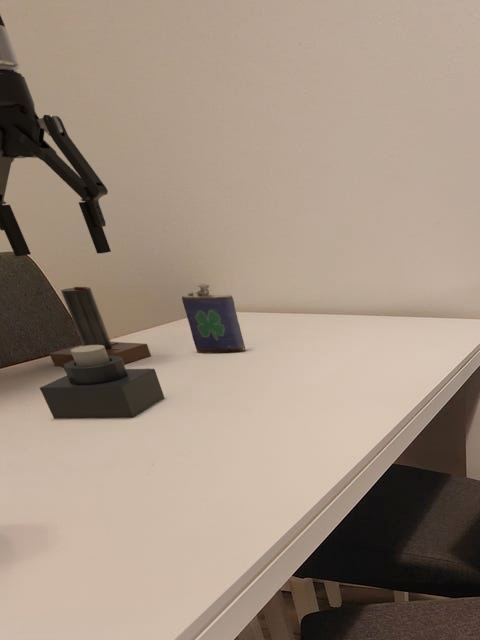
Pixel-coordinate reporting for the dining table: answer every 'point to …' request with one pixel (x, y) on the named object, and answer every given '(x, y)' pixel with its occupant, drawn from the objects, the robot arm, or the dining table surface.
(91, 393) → the button base
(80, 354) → the white short cylinder
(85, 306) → the black tall block
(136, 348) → the brown wooden flat block
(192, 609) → the dining table surface
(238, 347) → the flask
